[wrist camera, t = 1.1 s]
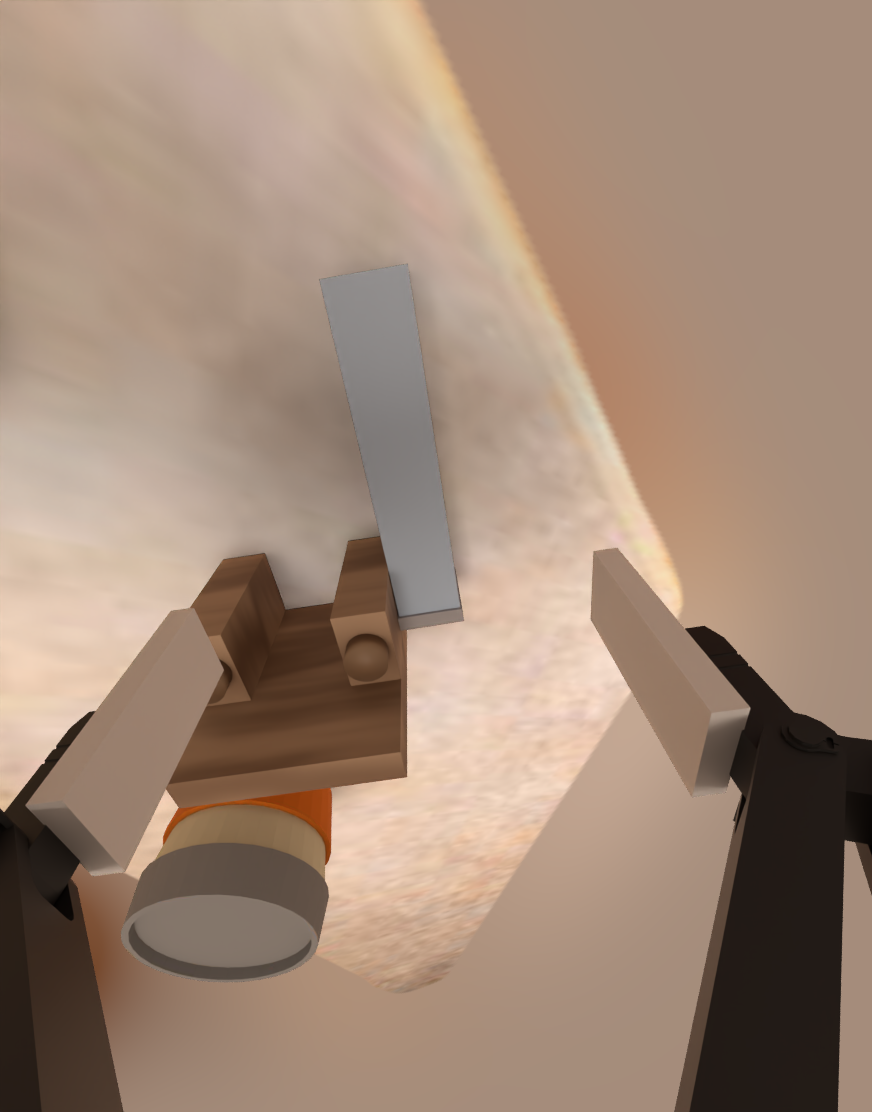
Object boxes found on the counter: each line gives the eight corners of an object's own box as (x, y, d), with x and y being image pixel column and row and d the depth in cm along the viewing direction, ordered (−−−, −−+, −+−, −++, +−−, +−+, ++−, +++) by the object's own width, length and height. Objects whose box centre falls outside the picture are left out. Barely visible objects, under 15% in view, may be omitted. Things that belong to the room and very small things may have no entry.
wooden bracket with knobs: (223, 559, 33) (115, 716, 21) (390, 534, 33) (380, 678, 20) (255, 635, 36) (179, 808, 24) (406, 614, 36) (407, 777, 24)
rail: (332, 282, 25) (316, 279, 20) (409, 268, 25) (409, 262, 20) (401, 587, 35) (400, 630, 30) (456, 578, 35) (463, 620, 30)
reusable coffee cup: (238, 674, 38) (151, 871, 25) (372, 725, 42) (357, 919, 29) (187, 761, 43) (92, 964, 30) (311, 800, 47) (275, 995, 34)
